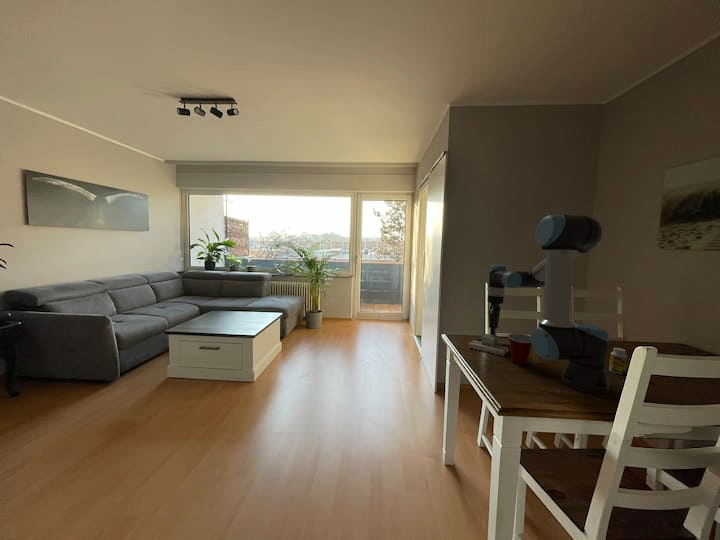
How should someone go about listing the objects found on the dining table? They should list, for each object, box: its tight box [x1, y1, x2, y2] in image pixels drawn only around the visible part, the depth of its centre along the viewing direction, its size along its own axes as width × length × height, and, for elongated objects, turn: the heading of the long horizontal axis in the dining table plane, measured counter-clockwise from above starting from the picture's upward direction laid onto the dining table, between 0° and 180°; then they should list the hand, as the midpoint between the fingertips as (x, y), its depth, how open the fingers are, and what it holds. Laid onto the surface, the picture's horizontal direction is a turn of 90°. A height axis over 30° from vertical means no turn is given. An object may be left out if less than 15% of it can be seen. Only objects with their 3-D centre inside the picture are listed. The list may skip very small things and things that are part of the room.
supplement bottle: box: [608, 347, 628, 375], centre depth 138 cm, size 6×6×10 cm
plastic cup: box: [507, 333, 532, 366], centre depth 146 cm, size 11×11×12 cm
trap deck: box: [468, 334, 511, 357], centre depth 167 cm, size 20×17×2 cm
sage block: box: [481, 333, 499, 347], centre depth 164 cm, size 7×6×4 cm
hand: (492, 340), depth 167 cm, fingers closed
